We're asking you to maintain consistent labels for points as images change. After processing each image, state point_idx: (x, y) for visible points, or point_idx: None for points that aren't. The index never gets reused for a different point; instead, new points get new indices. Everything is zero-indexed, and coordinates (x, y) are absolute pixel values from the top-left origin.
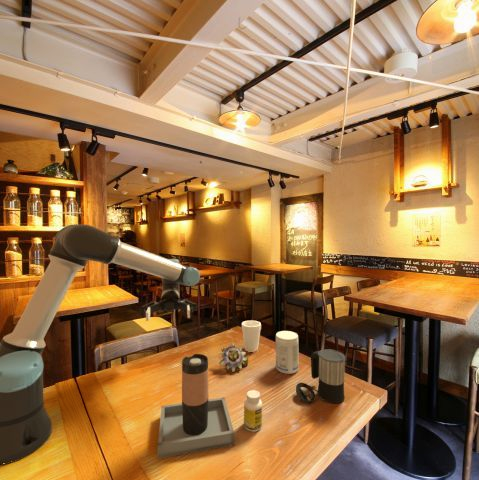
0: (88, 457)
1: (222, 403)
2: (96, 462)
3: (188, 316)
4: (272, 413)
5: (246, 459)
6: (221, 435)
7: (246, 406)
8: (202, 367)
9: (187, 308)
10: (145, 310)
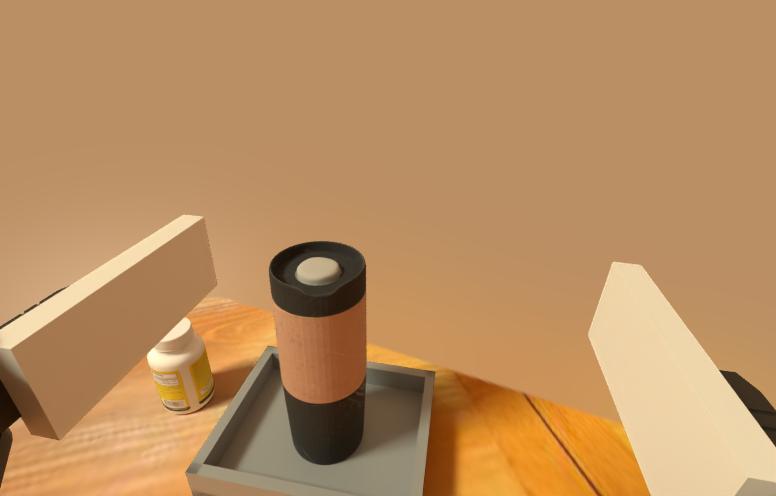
0: (602, 456)
1: (210, 458)
2: (572, 434)
3: (209, 270)
4: (103, 413)
5: (272, 337)
6: None
7: (202, 345)
8: (310, 250)
9: (154, 254)
10: (773, 437)
